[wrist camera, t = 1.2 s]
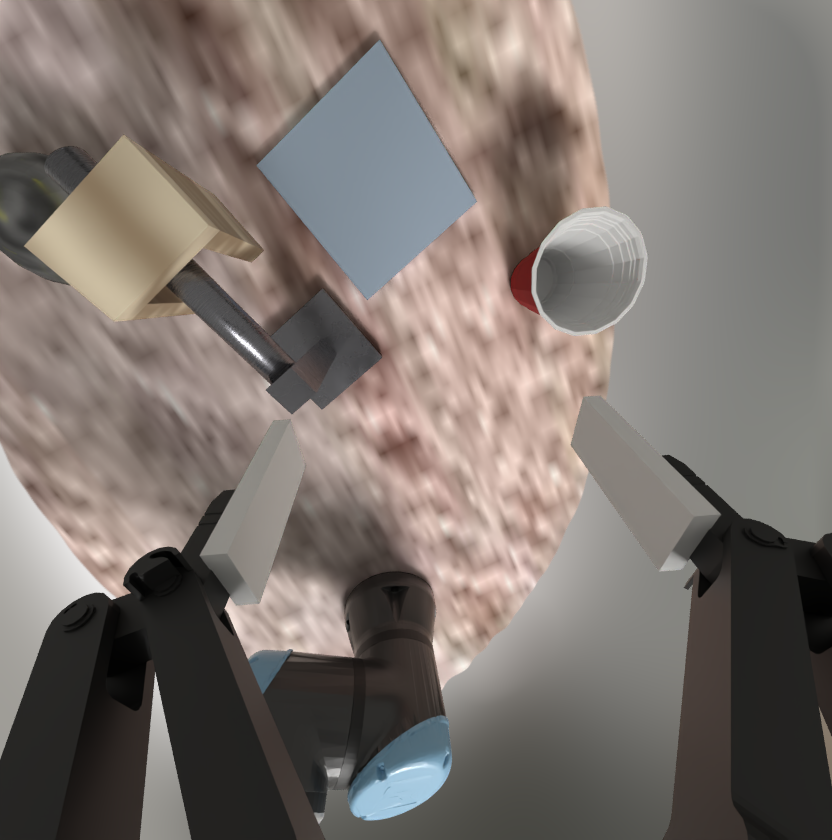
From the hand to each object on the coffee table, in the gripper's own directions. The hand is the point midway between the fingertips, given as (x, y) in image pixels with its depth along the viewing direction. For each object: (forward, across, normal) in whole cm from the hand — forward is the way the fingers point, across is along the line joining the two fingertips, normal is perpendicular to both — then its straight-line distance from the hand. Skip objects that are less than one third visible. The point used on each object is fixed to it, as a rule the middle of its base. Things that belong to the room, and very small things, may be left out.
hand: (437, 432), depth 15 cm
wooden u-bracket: (+19, +17, -6) cm, 26 cm away
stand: (+27, +15, +1) cm, 31 cm away
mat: (+31, +4, -10) cm, 33 cm away
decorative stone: (+28, +30, -7) cm, 42 cm away
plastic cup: (+30, -15, +1) cm, 34 cm away
